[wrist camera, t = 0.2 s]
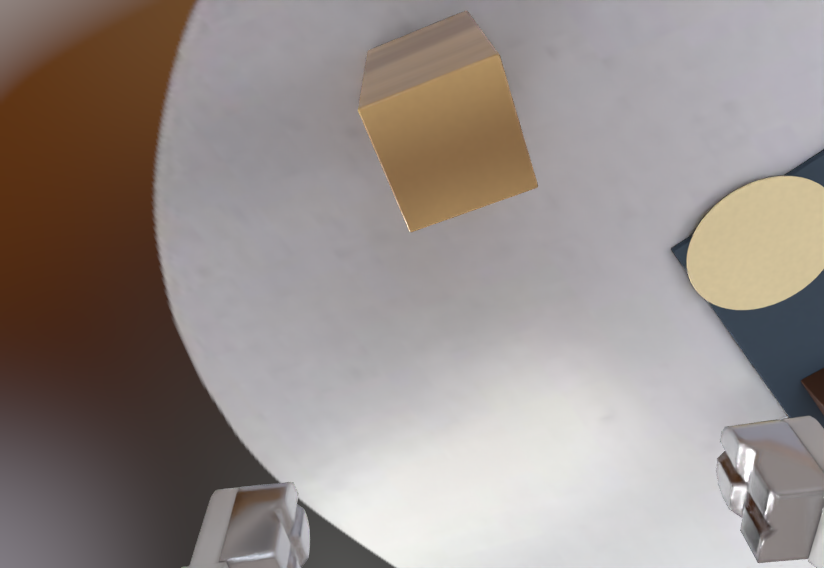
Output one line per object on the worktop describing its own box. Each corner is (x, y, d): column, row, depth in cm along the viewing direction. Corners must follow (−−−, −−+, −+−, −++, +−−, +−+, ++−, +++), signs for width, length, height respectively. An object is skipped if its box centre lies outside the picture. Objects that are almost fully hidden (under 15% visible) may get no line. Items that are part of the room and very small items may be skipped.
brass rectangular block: (366, 50, 30) (356, 108, 21) (467, 9, 29) (499, 53, 20) (404, 146, 32) (409, 233, 24) (498, 111, 31) (538, 187, 23)
